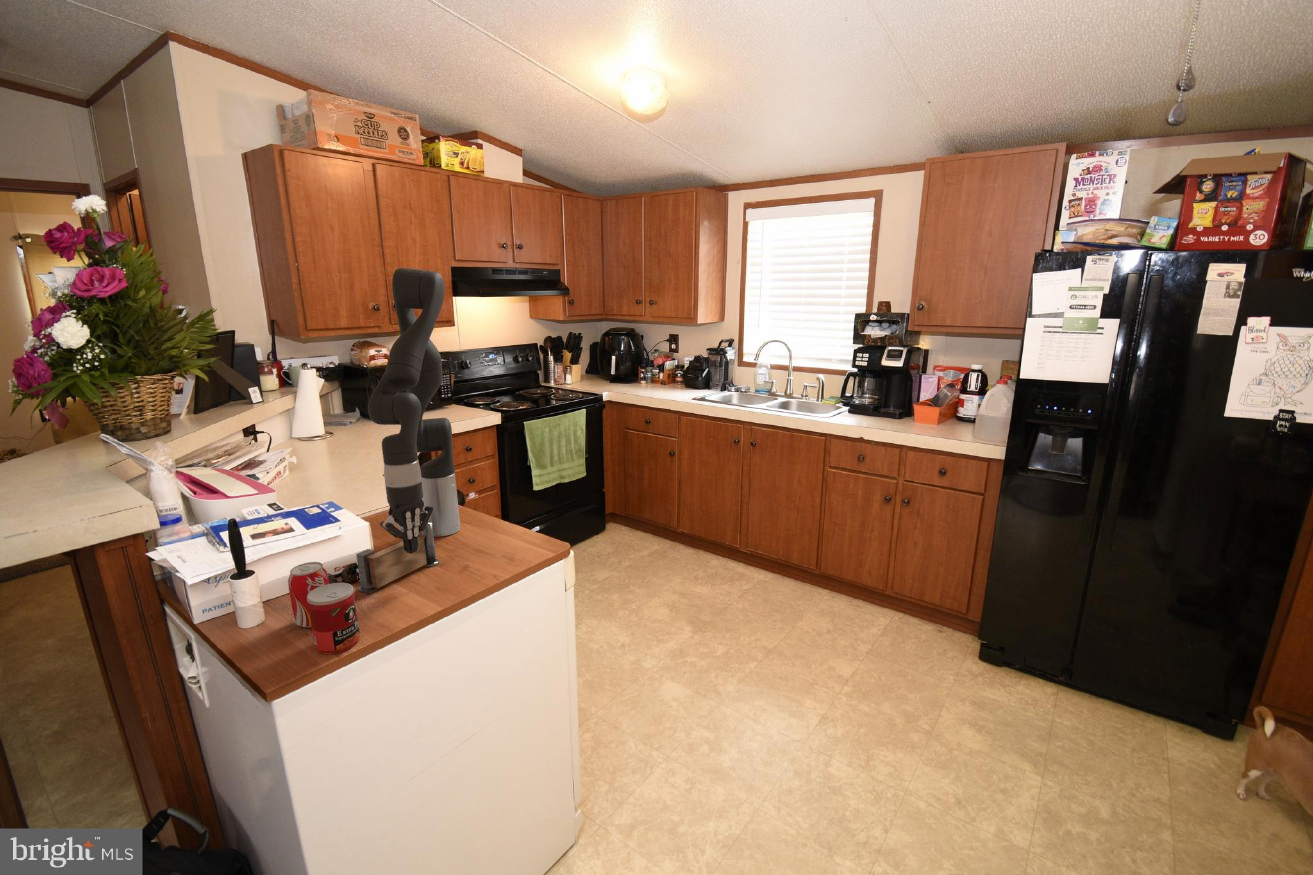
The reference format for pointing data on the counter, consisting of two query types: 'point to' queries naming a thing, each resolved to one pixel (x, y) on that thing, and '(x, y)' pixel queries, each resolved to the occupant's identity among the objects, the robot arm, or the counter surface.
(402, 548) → the gate
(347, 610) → the canned food
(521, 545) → the counter surface
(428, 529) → the hinge post
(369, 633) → the counter surface
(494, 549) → the counter surface
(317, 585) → the soda can
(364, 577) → the post
